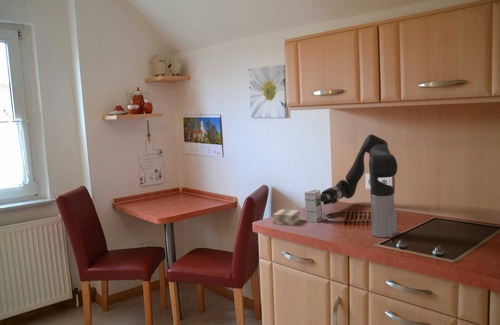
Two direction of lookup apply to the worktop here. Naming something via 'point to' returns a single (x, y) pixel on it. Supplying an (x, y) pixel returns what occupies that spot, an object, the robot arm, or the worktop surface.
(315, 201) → the syrup box
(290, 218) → the ash block
